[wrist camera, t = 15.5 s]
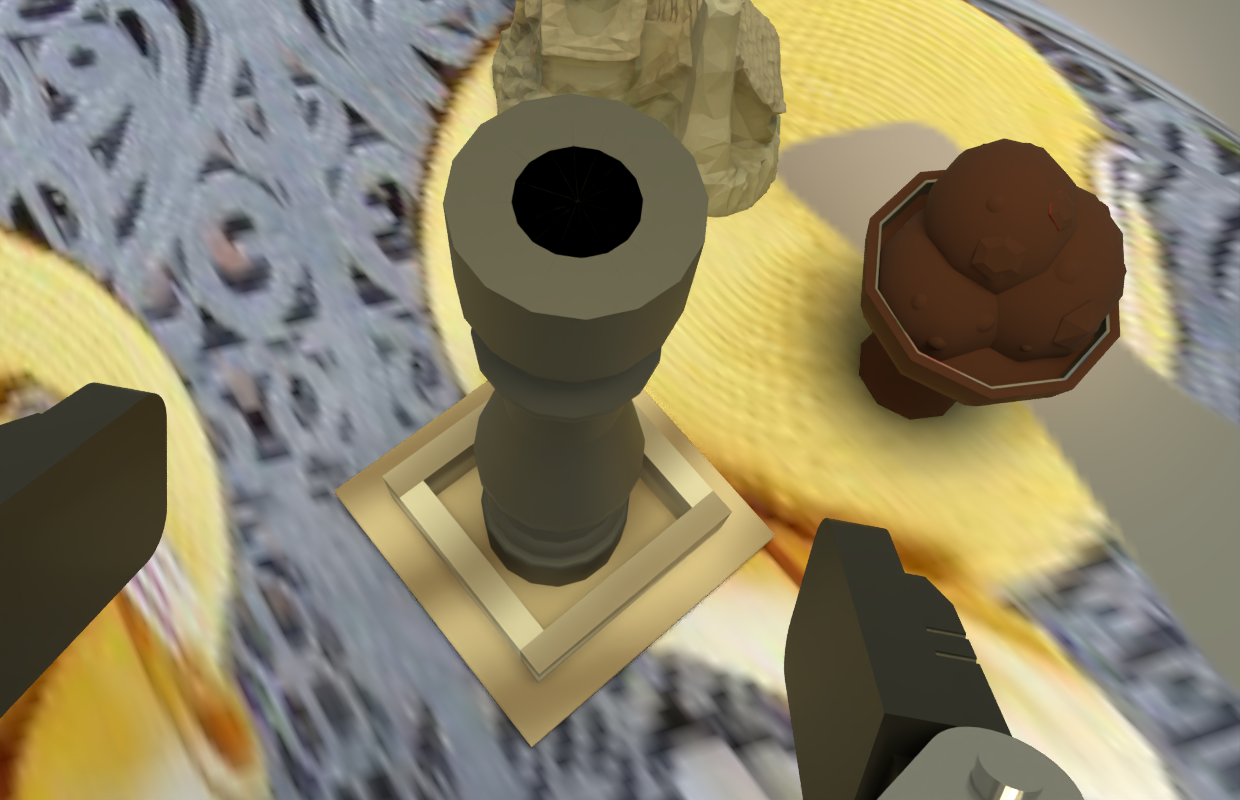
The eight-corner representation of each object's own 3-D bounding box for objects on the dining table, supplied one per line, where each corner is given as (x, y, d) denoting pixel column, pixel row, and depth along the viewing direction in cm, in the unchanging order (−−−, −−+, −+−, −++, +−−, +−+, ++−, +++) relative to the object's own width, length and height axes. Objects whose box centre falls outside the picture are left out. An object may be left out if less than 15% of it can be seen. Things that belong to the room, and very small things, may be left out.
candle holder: (482, 455, 45) (429, 85, 22) (618, 448, 46) (704, 82, 23) (486, 591, 43) (431, 337, 20) (629, 582, 43) (738, 326, 20)
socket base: (337, 497, 45) (320, 470, 41) (577, 325, 49) (581, 286, 45) (531, 748, 41) (531, 743, 38) (770, 540, 46) (791, 517, 42)
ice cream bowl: (798, 453, 47) (908, 310, 34) (817, 254, 52) (922, 53, 38) (1015, 492, 48) (1214, 365, 34) (1016, 290, 52) (1192, 104, 38)
